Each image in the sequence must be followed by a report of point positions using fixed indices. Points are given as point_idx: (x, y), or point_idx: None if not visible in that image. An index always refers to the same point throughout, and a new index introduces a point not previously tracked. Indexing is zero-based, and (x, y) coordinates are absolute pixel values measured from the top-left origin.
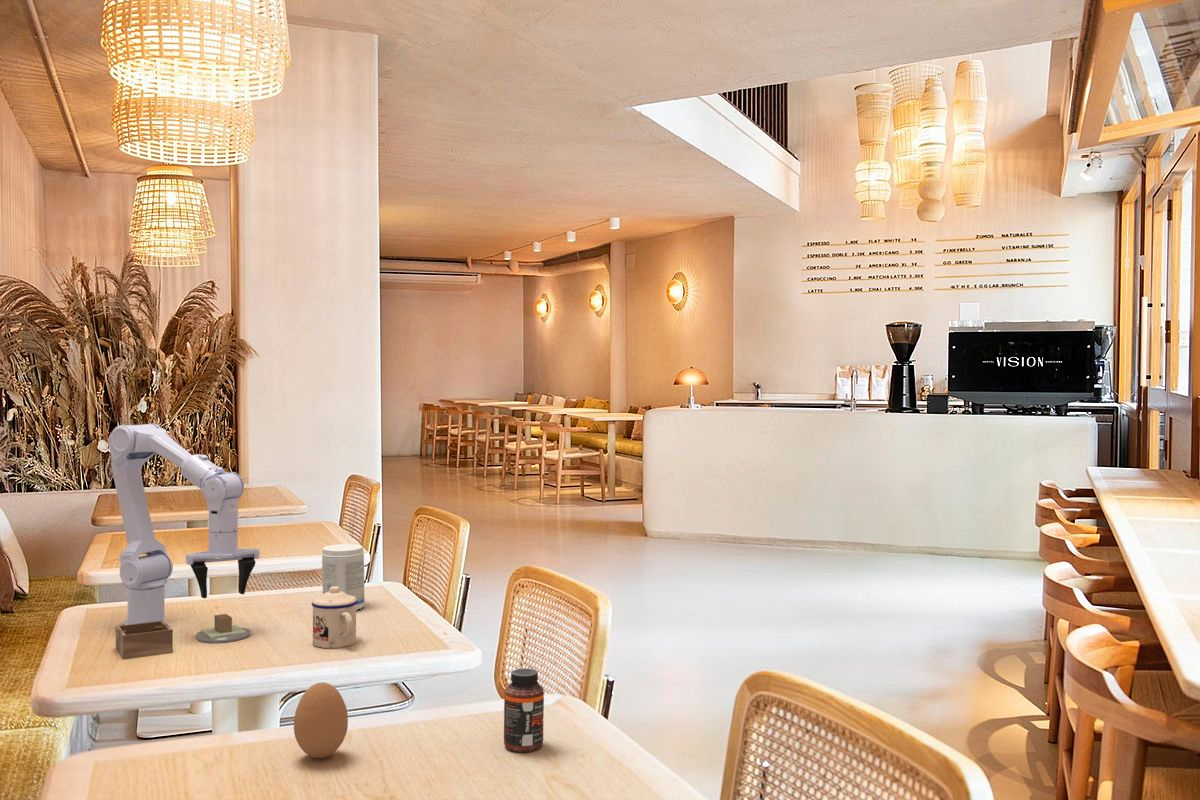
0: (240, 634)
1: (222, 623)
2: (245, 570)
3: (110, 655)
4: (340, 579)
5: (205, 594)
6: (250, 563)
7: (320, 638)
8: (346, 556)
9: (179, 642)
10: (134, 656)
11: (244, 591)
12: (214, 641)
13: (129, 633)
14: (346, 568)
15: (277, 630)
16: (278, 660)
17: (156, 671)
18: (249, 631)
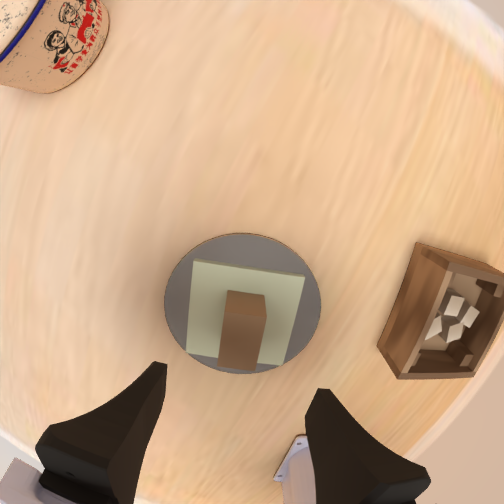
0: (211, 261)
1: (257, 308)
2: (116, 431)
3: None
4: None
5: (329, 396)
6: (69, 445)
7: (98, 5)
8: None
9: (355, 324)
10: (475, 260)
11: (151, 366)
12: (299, 257)
13: (450, 361)
14: None
15: (98, 265)
16: None
17: (489, 121)
18: (172, 283)
